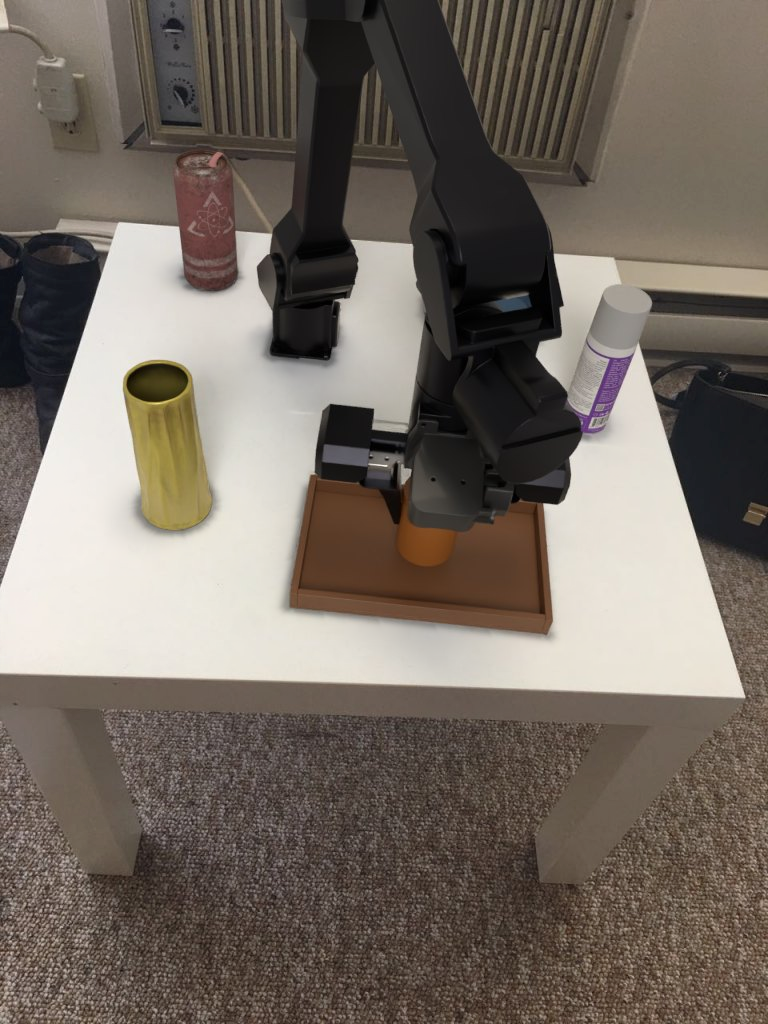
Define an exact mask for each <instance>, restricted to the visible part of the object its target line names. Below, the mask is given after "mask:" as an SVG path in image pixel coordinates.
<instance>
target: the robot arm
mask: <svg viewBox="0 0 768 1024" xmlns="http://www.w3.org/2000/svg"><path fill="white" fill-rule="evenodd" d="M280 1H281V5H282V8H283V16H284V19H285V21H286V23H287V25H288V28H289V29H290V31H291V33H292V35H293V37H294V39H295V41H296V44H297V45H298V47H299V49H300V50H301V53H302V65H301V78H300V79H301V81H300V93H299V103H298V104H299V106H298V119H297V132H296V145H295V159H294V171H293V182H292V183H293V184H292V185H293V186H292V198H291V207H290V209H289V210H288V211H287V213H285V215H284V216H283V217H282V218H281V219H280V220H279V222H278V223H276V224H275V226H274V228H273V229H272V233H271V239H270V246H269V253H267V254H266V255H265V256H264V257H263V258H262V259H261V261H260V262H259V263H258V264H257V265H256V274H257V280H258V283H257V284H258V288H259V290H260V292H261V294H262V295H263V297H264V299H265V301H266V303H267V304H268V306H269V308H270V310H271V315H272V317H271V318H272V321H271V322H272V324H271V325H272V339H271V343H270V347H269V355H270V356H273V357H281V358H289V359H298V360H299V359H308V360H315V361H316V360H317V361H326V362H328V361H329V360H331V358H332V352H333V348H336V347H337V346H338V340H339V335H340V323H341V322H340V321H341V302H340V301H338V300H349V299H351V294H352V292H353V289H354V286H355V285H356V279H357V275H358V271H359V260H360V259H359V257H358V255H357V251H356V248H355V245H354V243H353V242H352V240H351V238H350V236H349V233H348V232H347V230H346V228H345V226H344V218H345V212H346V203H347V197H348V191H349V182H350V175H351V170H352V164H353V163H352V162H353V154H354V149H355V141H356V135H357V128H358V120H359V115H360V107H361V99H362V93H363V92H362V91H363V87H364V86H363V85H364V80H365V77H366V75H367V74H368V72H370V71H371V69H372V68H373V66H374V65H375V68H376V71H377V74H378V76H379V80H380V83H381V86H382V89H383V92H384V95H385V98H386V100H387V104H388V107H389V110H390V112H391V115H392V119H393V121H394V124H395V127H396V130H397V133H398V136H399V139H400V143H401V145H402V149H403V151H404V154H405V157H406V160H407V163H408V166H409V170H410V172H411V175H412V179H413V182H414V186H415V191H416V196H417V197H416V201H415V204H414V208H413V212H412V215H411V219H410V224H409V229H408V232H409V235H410V240H411V244H412V261H413V262H412V263H413V269H414V274H415V278H416V281H415V287H416V289H417V291H418V292H419V293H420V295H421V299H422V302H423V306H424V305H425V309H426V312H425V314H424V320H423V325H422V326H423V327H422V333H421V340H420V345H419V353H418V360H417V366H416V371H415V372H416V373H415V379H414V385H413V393H412V399H411V405H410V413H409V418H408V426H407V429H405V432H400V431H399V432H398V431H390V430H388V431H387V430H379V429H373V426H374V417H375V416H374V415H375V408H373V407H363V406H356V405H354V406H353V405H347V404H346V405H345V404H338V403H337V404H336V403H329V404H328V405H327V406H325V407H324V409H323V410H322V411H321V415H320V416H321V418H320V423H319V428H318V434H317V440H316V446H315V455H314V475H317V476H318V477H319V478H320V479H324V480H333V481H342V482H351V483H357V482H359V484H360V486H361V487H363V488H368V489H378V490H379V492H380V493H381V495H382V496H383V498H384V500H385V503H386V505H387V508H388V510H389V513H390V515H391V518H392V520H393V523H394V524H399V521H400V514H401V500H402V494H401V484H402V465H403V469H406V470H411V471H410V476H409V477H410V487H409V498H408V508H407V517H408V520H409V521H410V523H411V524H412V525H414V526H416V527H420V528H437V529H447V530H453V531H456V532H465V531H468V530H470V529H471V528H472V527H473V526H474V524H475V523H483V524H492V525H493V524H494V520H495V516H505V515H506V514H507V512H508V510H509V507H510V504H516V503H518V502H519V500H520V498H521V499H522V500H523V501H526V502H535V503H543V504H544V505H554V506H559V505H560V504H561V503H563V502H564V501H565V499H566V497H567V495H568V493H569V490H570V487H571V480H572V469H571V468H572V467H571V459H570V457H571V456H572V455H573V453H574V452H576V450H577V448H578V446H579V445H580V443H581V441H582V438H583V435H584V434H583V432H582V431H581V421H580V419H579V417H578V415H577V414H576V413H575V412H574V410H573V409H572V408H571V407H570V405H569V404H568V403H567V402H566V401H567V398H568V391H567V390H566V388H565V387H564V386H563V385H562V383H561V381H559V380H558V378H556V377H555V376H554V375H552V374H551V373H550V372H549V371H548V370H547V369H546V367H545V366H544V365H543V364H542V362H541V361H540V359H538V357H537V353H538V350H539V346H540V343H542V342H547V341H552V340H557V339H560V338H561V337H562V336H563V327H562V318H561V310H560V309H561V308H563V307H565V304H564V299H563V294H562V288H561V285H560V279H559V275H558V271H557V266H556V261H555V252H554V242H553V238H552V237H553V236H552V232H551V229H550V227H549V225H548V222H547V221H546V220H547V219H546V218H545V216H544V214H543V212H542V210H541V208H540V206H539V204H538V201H537V199H536V198H535V196H534V194H533V192H532V190H531V188H530V186H529V184H528V182H527V179H526V178H525V177H524V175H523V174H521V173H520V172H519V171H518V170H517V169H516V168H514V167H513V166H512V165H510V164H509V163H508V162H506V160H504V159H503V158H501V157H500V156H499V155H498V154H497V153H495V151H494V149H493V147H492V145H491V143H490V141H489V139H488V136H487V133H486V131H485V128H484V126H483V125H484V124H483V122H482V120H481V117H480V113H479V111H478V108H477V105H476V102H475V100H474V97H473V94H472V91H471V88H470V86H469V82H468V80H467V77H466V73H465V71H464V69H463V66H462V63H461V59H460V57H459V54H458V51H457V49H456V46H455V43H454V40H453V38H452V37H453V36H452V34H451V31H450V29H449V26H448V23H447V21H446V17H445V15H444V11H443V9H442V6H441V4H440V0H280ZM526 295H528V297H529V300H530V303H531V307H528V308H523V309H517V310H512V311H507V312H504V311H503V310H502V309H501V307H500V306H499V305H498V304H497V302H496V301H498V300H504V299H509V298H515V297H520V296H526Z"/></svg>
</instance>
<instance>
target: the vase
mask: <svg viewBox="0 0 768 1024" xmlns="http://www.w3.org/2000/svg"><path fill="white" fill-rule="evenodd" d="M193 381H194V380H193V376H192V374H191V372H190V370H189V369H188V368H187V367H186V366H185V365H183V364H181V363H179V362H176V361H173V360H168V359H149V360H145V361H142V362H139V363H137V364H136V365H134V366H133V367H131V368H129V370H127V372H126V373H125V375H124V376H123V379H122V393H123V399H124V405H125V411H126V415H127V420H128V425H129V430H130V434H131V439H132V440H131V441H132V447H133V455H134V460H135V466H136V473H137V477H138V481H139V487H140V494H141V504H140V505H141V512H142V515H143V517H144V518H145V519H146V520H147V522H148V523H150V524H151V525H153V526H155V527H157V528H159V529H163V530H167V531H181V530H186V529H188V528H192V527H194V526H196V525H198V524H199V523H201V522H202V521H203V520H204V519H205V518H207V516H208V514H209V513H210V512H211V509H212V504H213V497H212V494H211V493H210V487H209V486H210V484H209V476H208V470H207V465H206V458H205V454H204V448H203V444H202V443H203V442H202V437H201V433H200V426H199V425H200V424H199V419H198V414H197V413H198V412H197V405H196V398H195V397H196V396H195V389H194V382H193Z"/></svg>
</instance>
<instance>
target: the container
mask: <svg viewBox="0 0 768 1024" xmlns="http://www.w3.org/2000/svg"><path fill="white" fill-rule="evenodd" d="M652 306H653V301H652V298H651V297H650V295H648V293H646V292H645V291H644V290H642V289H641V288H639V287H636V286H633V285H629V284H623V283H621V284H619V283H617V284H611V285H608V286H607V287H606V288H604V289H603V291H602V293H601V296H600V300H599V302H598V305H597V308H596V311H595V313H594V316H593V319H592V321H591V324H590V327H589V328H588V332H587V335H586V338H585V341H584V344H583V347H582V349H581V352H580V354H579V355H580V356H579V359H578V361H577V365H576V368H575V371H574V373H573V377H572V380H571V382H570V385H569V389H568V391H567V394H568V398H567V401H566V402H567V403H568V404H569V405H570V407H571V408H572V409H573V410H574V412H575V413H576V414H577V415H578V417H579V419H580V421H581V431H582V432H583V435H586V436H587V435H589V436H590V435H596V434H599V433H601V432H602V431H604V429H605V428H606V426H607V423H608V421H609V418H610V416H611V414H612V411H613V408H614V405H615V404H616V401H617V398H618V396H619V393H620V390H621V388H622V385H623V383H624V381H625V378H626V375H627V373H628V371H629V368H630V365H631V363H632V361H633V358H634V355H635V353H636V350H637V347H638V344H639V342H640V339H641V337H642V334H643V331H644V328H645V326H646V322H647V320H648V317H649V315H650V312H651V310H652Z"/></svg>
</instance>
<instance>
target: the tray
mask: <svg viewBox="0 0 768 1024" xmlns="http://www.w3.org/2000/svg"><path fill="white" fill-rule="evenodd" d="M404 485H405V483H401V494H402V496H403V490H404ZM306 492H307V493H306V497H305V503H304V509H303V515H302V521H301V526H300V534H299V538H298V544H297V550H296V556H295V560H294V561H295V562H294V567H293V572H292V579H291V584H290V590H289V608H290V609H299V610H300V609H301V610H308V611H309V610H310V611H317V612H318V611H319V612H329V613H340V614H349V615H358V616H368V617H378V618H386V619H396V620H404V621H405V620H407V621H416V622H426V623H433V624H435V623H436V624H443V625H444V624H445V625H453V626H463V627H472V628H482V629H483V628H484V629H492V630H501V631H510V632H511V631H512V632H521V633H529V634H530V633H531V634H541V635H548V634H549V631H550V629H551V627H552V625H553V622H554V615H553V602H552V591H551V579H550V566H549V565H550V564H549V556H548V554H549V553H548V543H547V531H546V519H545V506H544V505H545V504H544V503H535V502H526V501H523V500H522V499H521V498H520V500H519V502H518V503H516V504H510V507H509V510H508V512H507V514H506V515H505V516H495V520H494V524H493V525H492V524H483V523H475V524H474V526H473V527H472V528H471V529H470V530H468V531H465V532H458V533H457V537H456V541H455V545H454V549H453V552H452V555H451V556H450V557H449V558H448V559H447V560H446V561H445V562H443V563H441V564H439V565H436V566H419V565H416V564H413V563H411V562H409V561H408V560H406V559H405V558H404V557H403V556H402V555H401V554H400V553H399V551H398V549H397V546H396V534H397V528H398V524H394V523H393V520H392V518H391V515H390V513H389V510H388V508H387V505H386V503H385V500H384V498H383V496H382V495H381V493H380V492H379V490H378V489H368V488H363V487H361V486H360V484H359V482H357V483H351V482H342V481H333V480H324V479H320V478H319V477H318V476H317V475H316V474H309V481H308V487H307V491H306ZM401 503H402V500H401Z"/></svg>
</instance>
